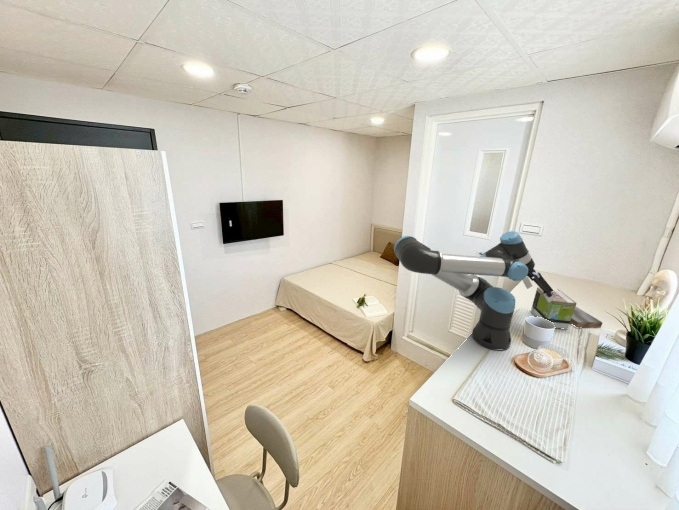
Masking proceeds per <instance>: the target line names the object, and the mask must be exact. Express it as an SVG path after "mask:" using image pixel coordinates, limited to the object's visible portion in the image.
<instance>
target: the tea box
mask: <svg viewBox="0 0 679 510" xmlns="http://www.w3.org/2000/svg"><path fill="white" fill-rule="evenodd" d="M551 288H552V289H553V291H552V292H551V293H552V295H553V297H554V300H552V301H551V302H548V301H547V300H546V298H545V296H544V294H543V290H542V289H541V288H540V287H539V286H537V288H536V290H535V295H534V299H533V301H532V306H531V310H530V312H531V313H532V314H533V315H534V317H535V316H538V317H542V318H544V319H547V320H549V321H551V322H553V323H554V325H555V327H556V328H564V329H563V330H565V329H567V330H568V329H569V326H570V325H571V324H570V321H571V318H572V315H573V312H574V309H575V307H577V302H576V301H575V300H573V299H572V298H571V297H570V296H568V295H567V294H565V292H564V291H562V290H560V289H559V288H553V287H551Z"/></svg>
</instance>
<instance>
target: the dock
mask: <svg viewBox="0 0 679 510" xmlns="http://www.w3.org/2000/svg"><path fill="white" fill-rule="evenodd" d="M570 323H571V324H573V325H575V326H576V327H582V328H581V329H590V328H592V329H593V328H599V329H601V327H602V326H603V321H601V320H599V319H598V318H596V317H594V316H592V315H591V314H590V313H588V312H586V311H584V310H583V309H581V308H579V307H577V306H576V307H575V309H574V312H573V315H572V318H571V321H570ZM571 324H570V325H571Z"/></svg>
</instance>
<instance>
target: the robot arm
mask: <svg viewBox="0 0 679 510" xmlns="http://www.w3.org/2000/svg"><path fill="white" fill-rule="evenodd" d="M499 241H500V242H499V243H498V244H497V245H495V246H492V248H490V249H488V250H487V251H485V252H484V253H482V254H481V255H479V256H477V255H462V254H451V253H449V254H448V253H447V254H446V253H441V252H440V250H432V249H431V248H430V247H429V246H427V245H425V244H423V243H422V242H420V241H419V240H418V239H417V238H416V237H414V236H411V235H405V236H402V237H400V238H398V239H397V241H395V244H394V246H393V252H394V255H395V257H396V258H397V259H398V260H399V262H400V264H401V266H402V267H404V269H405V270H407V271H410V272H412V273H417V274H422V275H423V274H425V275H430V276H433V277H435V278H437V279H438V280H440V281H441V282H444V283H445V284H447V285H449V286H450V287H451V288H454V289H456V290H457V291H458V292H459V295H460V296H462V297H463V298H465V299H467V300H469V301H470V302H471V303H473V304H474V305H475V306H476V307H477V308H478V309H479V310H480V315H479V319H478V322H477V323H476V324H475V326H474V327H473V329H472V334H471V337H472V339H473V340H474V341H475V342H476V343H477V344H479V345H480V346H482V347H485V348H487V349H490V350H493V349H506V350H508V349H509V348H510V347H511V344H512V337H511V332H510V326H511V323H512V321H513V320H512V319H513V315H514V312H515V308H516V296H514V294H513V293H511V292H510V291H508V290H507V289H503V287H497V286H493V285H492V284H490V283H489V282H488V281H487V280H486V279H485V278H483V277H480V276H489V277H490V276H492V277H502V278H503V277H505V278H508V279H509V280H511V281H513V282H521V281H522V282H523V285H524V286H525V288H526V289H527V290H528V289H530V288H532V287H533V284H532V282H531V281H533V282H534V283H535V285H537V287H540V288H541V289H542V290H543V294H544V296H545V298H546V300H547V301H548V302H551V301H552V300H554V297H553V295H552V293H551V292H552V291H553V289H554V288H553V287H551V285H550V284H549V283H548V282H547V280H546V279H545V278H544V277H543V276H542V273H541V272H540V271H539V272H536V270H535V266H536V263H535V262H534V259H533V258H532V256H531V254H530V250H528V248H527V247H526V244H525V243H524V241H523V237H522V236H521V235H520V233H519V232H517V231H515V230H511V231H506V232H504V233H503V234H501V236H500V237H499ZM552 288H553V289H552ZM507 348H508V349H507Z"/></svg>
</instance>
